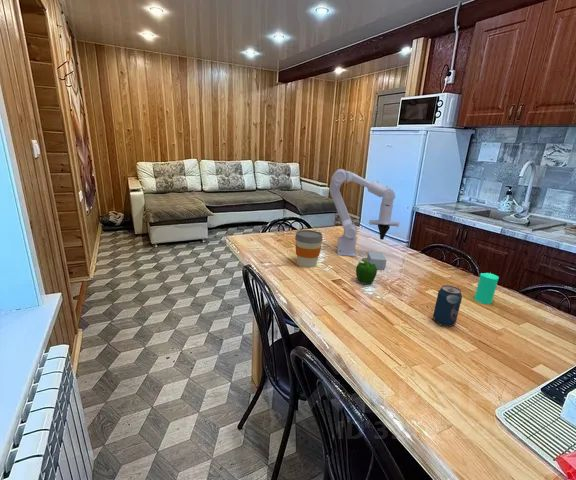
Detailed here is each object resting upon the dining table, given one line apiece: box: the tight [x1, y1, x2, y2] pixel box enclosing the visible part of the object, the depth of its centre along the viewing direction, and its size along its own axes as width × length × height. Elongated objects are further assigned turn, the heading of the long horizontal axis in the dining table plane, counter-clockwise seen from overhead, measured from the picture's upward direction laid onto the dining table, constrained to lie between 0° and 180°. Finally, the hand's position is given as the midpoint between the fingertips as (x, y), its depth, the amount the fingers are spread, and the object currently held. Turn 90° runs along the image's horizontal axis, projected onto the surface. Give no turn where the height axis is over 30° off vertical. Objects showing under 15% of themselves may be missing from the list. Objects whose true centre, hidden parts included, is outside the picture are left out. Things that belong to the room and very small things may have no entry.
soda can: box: [432, 284, 463, 327], centre depth 102 cm, size 7×7×12 cm
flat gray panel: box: [362, 257, 385, 271], centre depth 152 cm, size 8×14×1 cm, turn 175°
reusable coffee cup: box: [294, 229, 323, 269], centre depth 145 cm, size 13×13×15 cm
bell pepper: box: [355, 259, 378, 285], centre depth 130 cm, size 8×8×10 cm
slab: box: [366, 251, 387, 269], centre depth 151 cm, size 4×10×7 cm
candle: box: [474, 271, 500, 305], centre depth 119 cm, size 6×6×12 cm
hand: (381, 239), depth 159 cm, fingers closed
